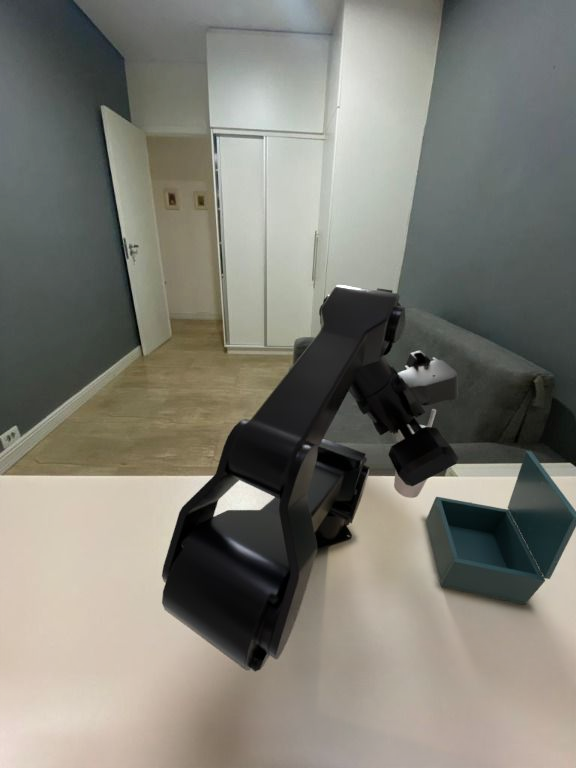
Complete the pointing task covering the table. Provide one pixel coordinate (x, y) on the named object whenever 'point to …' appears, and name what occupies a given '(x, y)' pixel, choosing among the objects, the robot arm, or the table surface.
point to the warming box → (481, 551)
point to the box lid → (541, 514)
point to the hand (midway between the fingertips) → (425, 455)
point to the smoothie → (398, 483)
